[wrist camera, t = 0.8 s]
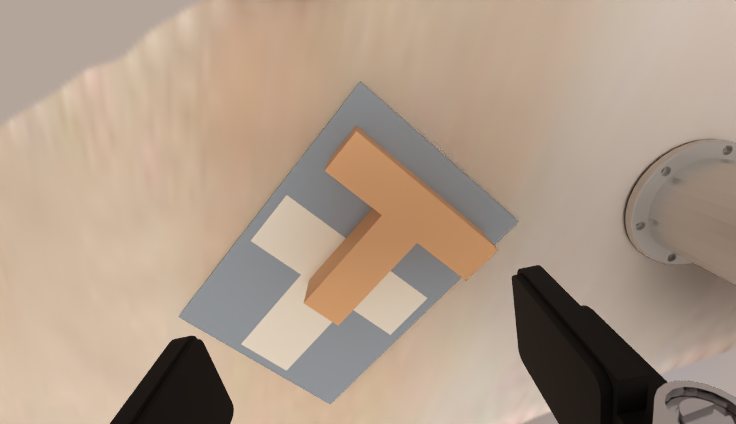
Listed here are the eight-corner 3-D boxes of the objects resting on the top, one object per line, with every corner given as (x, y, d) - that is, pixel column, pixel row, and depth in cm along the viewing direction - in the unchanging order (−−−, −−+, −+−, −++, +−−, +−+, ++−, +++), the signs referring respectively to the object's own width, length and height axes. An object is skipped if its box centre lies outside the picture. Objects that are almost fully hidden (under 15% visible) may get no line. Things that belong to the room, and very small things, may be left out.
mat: (516, 219, 35) (518, 221, 34) (330, 400, 42) (330, 404, 41) (360, 81, 30) (360, 81, 29) (180, 313, 37) (178, 316, 37)
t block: (482, 231, 34) (498, 249, 31) (383, 330, 38) (386, 357, 34) (356, 125, 30) (356, 131, 27) (259, 246, 34) (247, 266, 30)
